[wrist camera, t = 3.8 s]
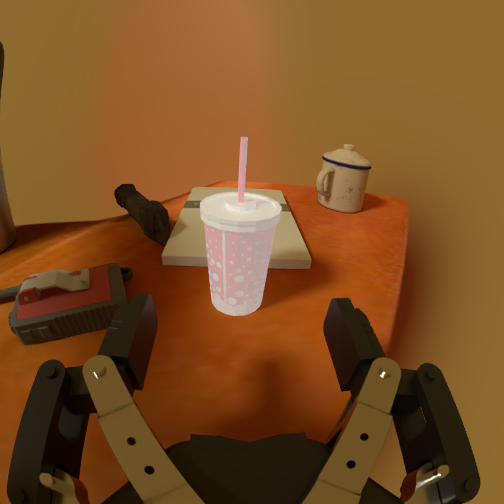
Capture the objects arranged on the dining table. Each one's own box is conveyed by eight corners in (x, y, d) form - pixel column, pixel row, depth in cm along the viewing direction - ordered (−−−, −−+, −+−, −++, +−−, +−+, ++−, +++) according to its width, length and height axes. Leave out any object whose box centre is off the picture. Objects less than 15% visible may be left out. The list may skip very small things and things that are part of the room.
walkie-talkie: (131, 270, 28) (-13, 303, 19) (124, 234, 26) (-28, 271, 17) (146, 324, 21) (-29, 358, 12) (136, 282, 19) (-52, 324, 10)
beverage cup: (279, 289, 26) (298, 139, 19) (254, 331, 21) (271, 147, 14) (222, 272, 28) (226, 131, 21) (189, 306, 23) (181, 138, 16)
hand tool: (115, 207, 43) (112, 181, 40) (136, 202, 45) (134, 177, 43) (147, 256, 30) (142, 219, 28) (178, 246, 32) (175, 211, 30)
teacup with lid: (334, 194, 55) (343, 140, 49) (370, 209, 48) (382, 151, 43) (295, 202, 48) (303, 138, 42) (335, 220, 42) (347, 149, 36)
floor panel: (162, 265, 28) (161, 253, 28) (193, 193, 49) (193, 185, 48) (309, 269, 29) (312, 257, 29) (279, 196, 50) (280, 188, 49)
